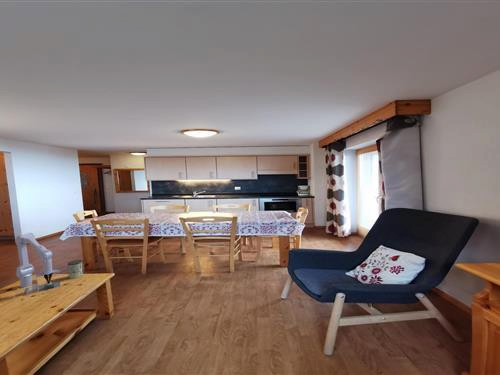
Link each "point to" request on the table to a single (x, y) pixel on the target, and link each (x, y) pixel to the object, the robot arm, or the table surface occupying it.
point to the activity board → (40, 288)
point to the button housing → (49, 286)
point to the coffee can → (75, 269)
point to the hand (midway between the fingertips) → (48, 283)
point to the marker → (34, 285)
